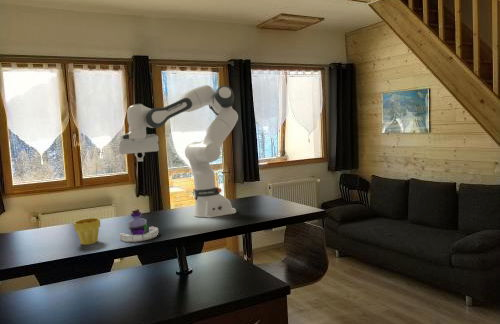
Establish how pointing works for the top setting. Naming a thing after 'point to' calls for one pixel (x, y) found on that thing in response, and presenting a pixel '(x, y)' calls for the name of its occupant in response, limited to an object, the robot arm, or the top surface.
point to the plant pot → (87, 230)
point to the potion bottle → (137, 223)
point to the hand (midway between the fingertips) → (140, 161)
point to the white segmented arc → (140, 235)
